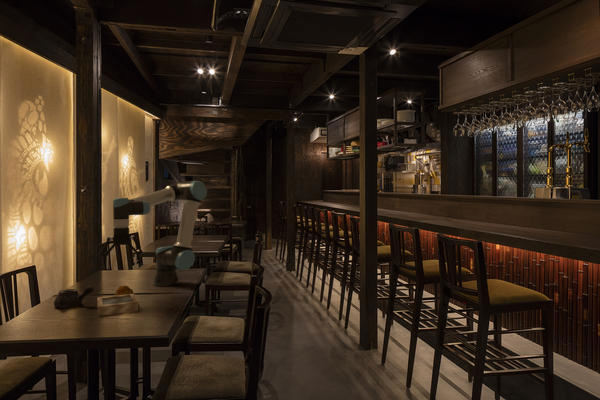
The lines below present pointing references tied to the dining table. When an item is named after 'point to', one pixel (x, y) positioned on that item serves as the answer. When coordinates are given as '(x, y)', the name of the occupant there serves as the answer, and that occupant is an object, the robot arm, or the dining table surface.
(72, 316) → the dining table surface
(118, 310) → the plinth
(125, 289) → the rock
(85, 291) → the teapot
